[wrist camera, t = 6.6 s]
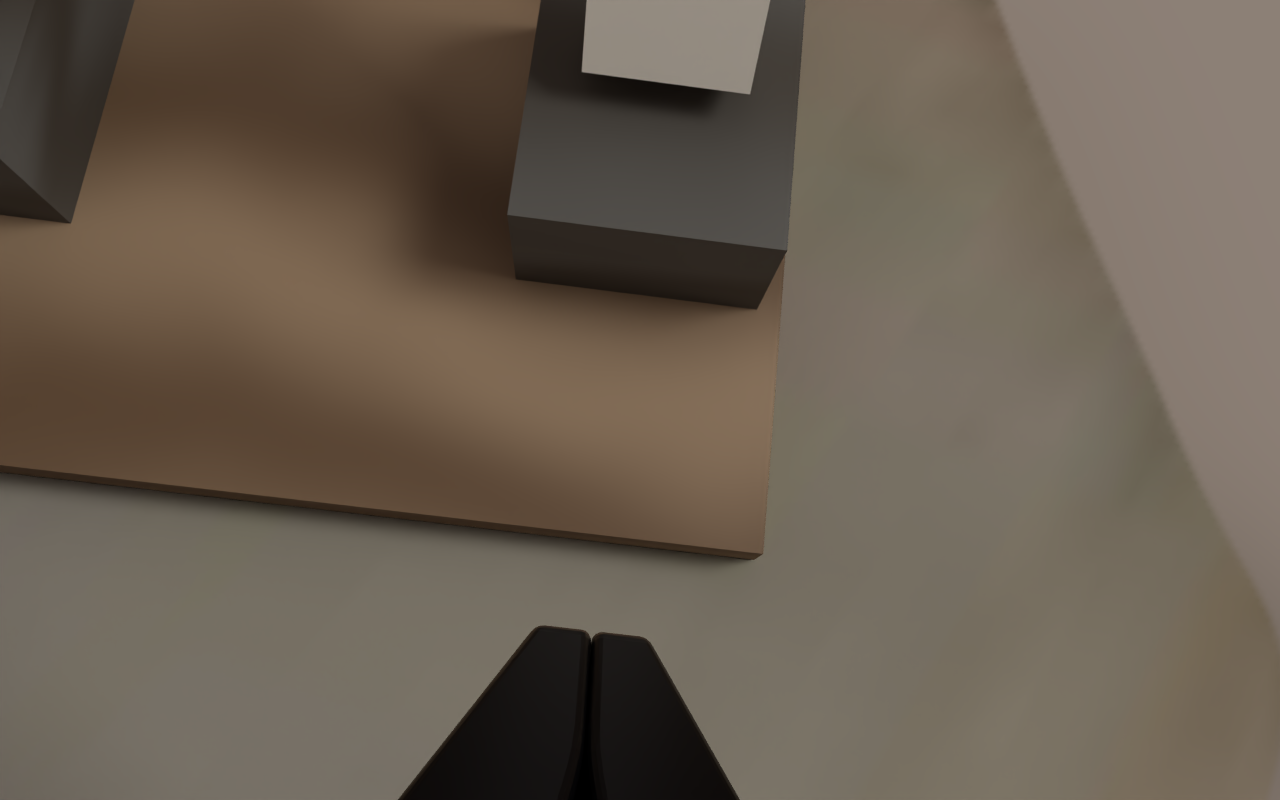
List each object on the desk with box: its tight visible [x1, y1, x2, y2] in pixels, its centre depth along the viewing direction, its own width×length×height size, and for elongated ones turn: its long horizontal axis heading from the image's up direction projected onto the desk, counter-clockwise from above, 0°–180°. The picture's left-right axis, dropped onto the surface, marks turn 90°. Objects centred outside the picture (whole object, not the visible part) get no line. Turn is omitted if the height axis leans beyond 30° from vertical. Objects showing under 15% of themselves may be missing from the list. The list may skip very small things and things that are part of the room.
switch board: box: [0, 0, 805, 560], centre depth 20 cm, size 14×20×4 cm
